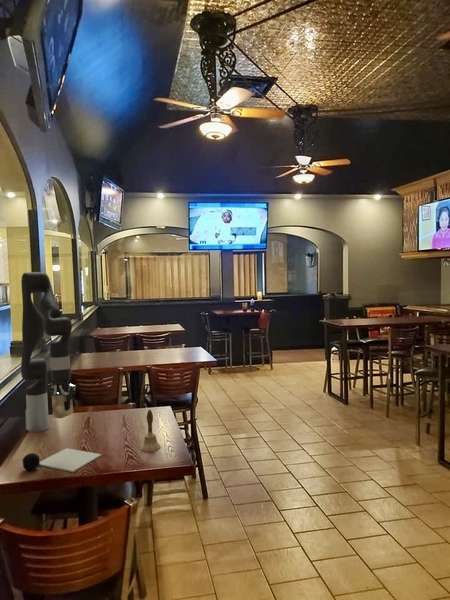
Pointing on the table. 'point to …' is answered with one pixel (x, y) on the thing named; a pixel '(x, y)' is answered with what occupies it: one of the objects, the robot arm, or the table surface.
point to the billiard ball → (31, 461)
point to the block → (60, 406)
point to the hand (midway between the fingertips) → (62, 409)
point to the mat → (69, 460)
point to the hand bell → (150, 436)
